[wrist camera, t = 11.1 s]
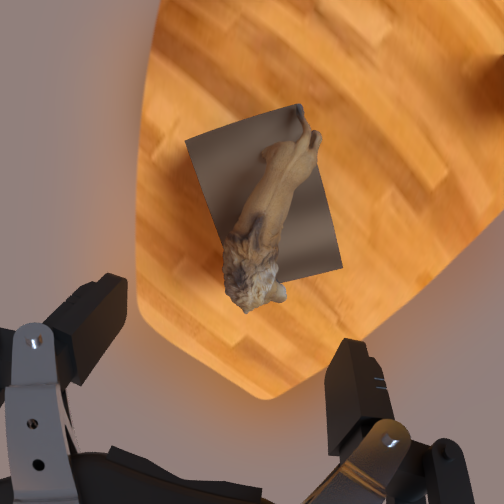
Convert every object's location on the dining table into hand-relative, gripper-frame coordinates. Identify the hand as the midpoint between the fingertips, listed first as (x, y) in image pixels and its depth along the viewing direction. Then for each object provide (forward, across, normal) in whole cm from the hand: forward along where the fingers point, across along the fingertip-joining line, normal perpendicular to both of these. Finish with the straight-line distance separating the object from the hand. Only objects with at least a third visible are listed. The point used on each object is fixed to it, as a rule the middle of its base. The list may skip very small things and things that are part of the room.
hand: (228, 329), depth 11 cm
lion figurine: (+18, -1, -1) cm, 18 cm away
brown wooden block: (+26, 0, 0) cm, 26 cm away
